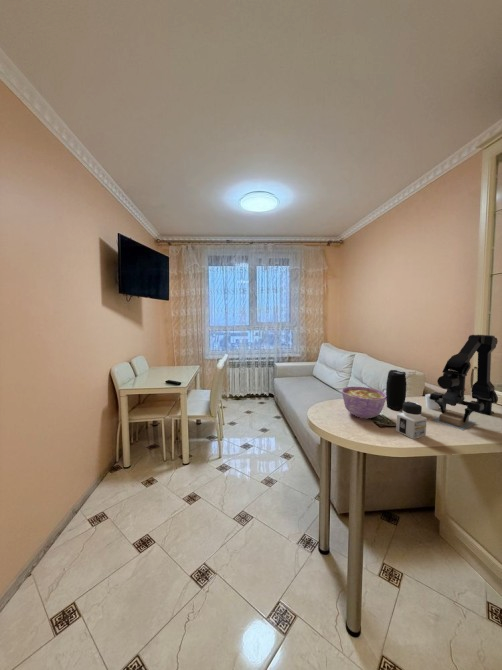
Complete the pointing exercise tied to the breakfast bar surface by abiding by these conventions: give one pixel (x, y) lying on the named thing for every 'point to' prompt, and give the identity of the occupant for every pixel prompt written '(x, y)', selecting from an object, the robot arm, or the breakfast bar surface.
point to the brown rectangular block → (453, 418)
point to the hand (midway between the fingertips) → (453, 419)
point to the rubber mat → (456, 426)
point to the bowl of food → (363, 401)
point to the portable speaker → (396, 389)
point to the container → (411, 421)
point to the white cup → (431, 403)
